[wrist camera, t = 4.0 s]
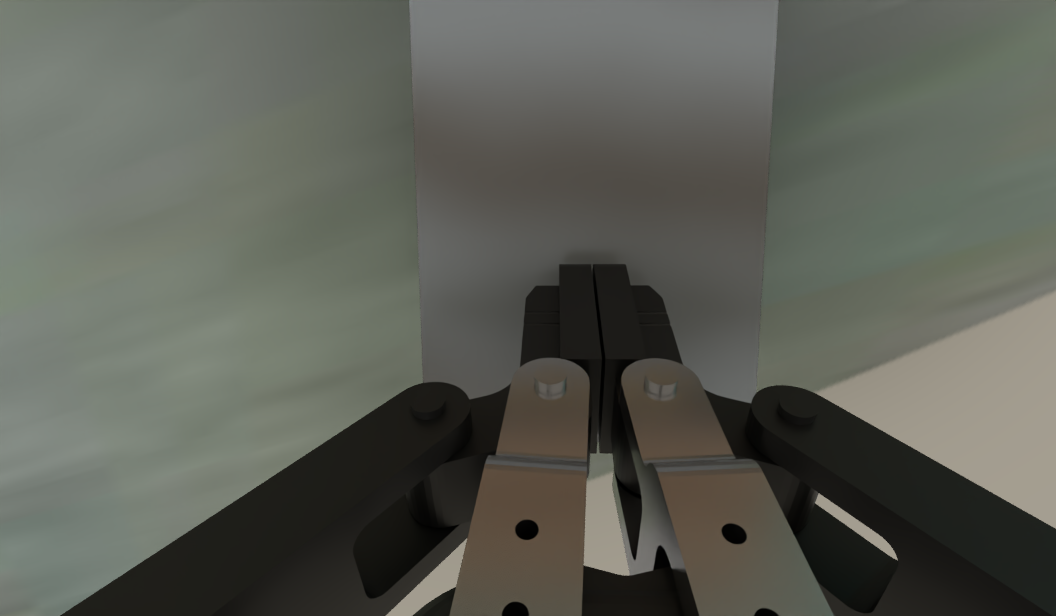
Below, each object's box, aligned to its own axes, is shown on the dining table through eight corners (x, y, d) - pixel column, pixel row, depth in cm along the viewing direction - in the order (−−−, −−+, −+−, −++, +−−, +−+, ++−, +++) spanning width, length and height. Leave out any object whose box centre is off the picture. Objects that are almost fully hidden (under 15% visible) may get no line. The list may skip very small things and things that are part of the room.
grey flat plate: (420, -146, 13) (401, -196, 12) (762, -159, 13) (790, -212, 11) (438, 417, 16) (424, 439, 14) (732, 419, 15) (753, 443, 14)
